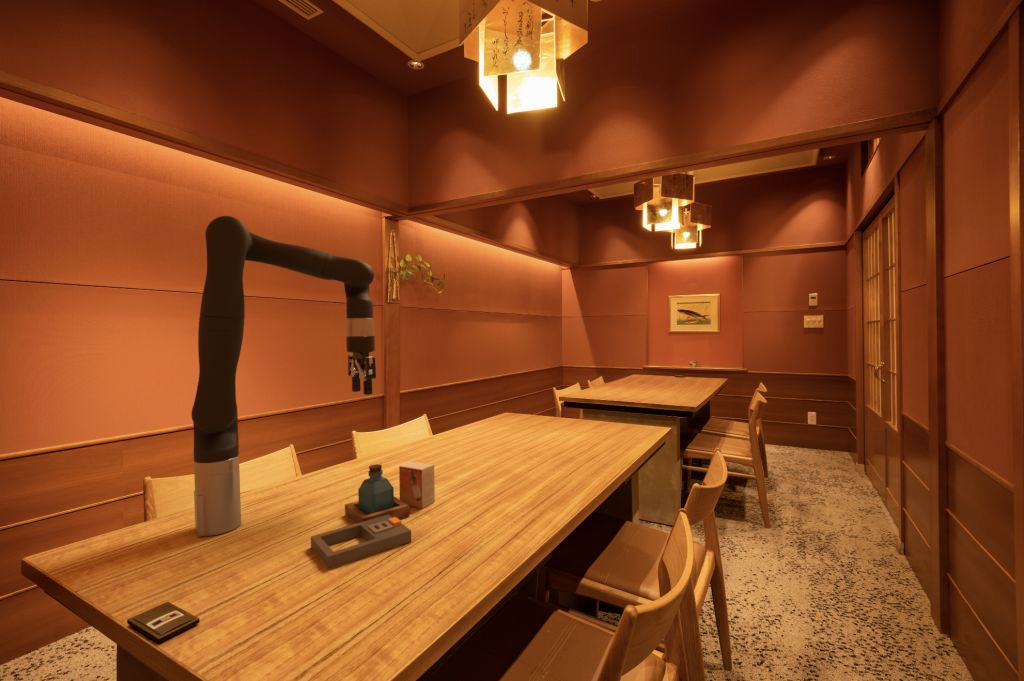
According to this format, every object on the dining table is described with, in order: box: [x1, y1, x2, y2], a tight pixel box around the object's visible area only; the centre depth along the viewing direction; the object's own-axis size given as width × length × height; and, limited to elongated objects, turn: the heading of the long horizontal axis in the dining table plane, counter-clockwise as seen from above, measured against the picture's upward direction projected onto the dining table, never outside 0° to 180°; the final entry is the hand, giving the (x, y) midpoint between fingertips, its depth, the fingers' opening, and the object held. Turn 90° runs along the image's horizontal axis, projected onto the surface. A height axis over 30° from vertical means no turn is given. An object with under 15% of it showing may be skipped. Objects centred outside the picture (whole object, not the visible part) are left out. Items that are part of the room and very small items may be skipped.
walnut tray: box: [344, 496, 410, 524], centre depth 117 cm, size 12×12×3 cm
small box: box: [398, 460, 436, 510], centre depth 126 cm, size 8×6×10 cm
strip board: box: [310, 515, 412, 570], centre depth 102 cm, size 18×12×3 cm, turn 129°
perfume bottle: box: [357, 464, 395, 515], centre depth 117 cm, size 6×6×12 cm
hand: (362, 393), depth 128 cm, fingers open, 8 cm apart
